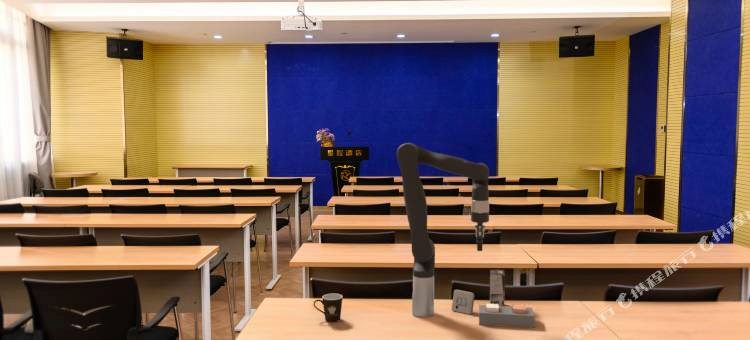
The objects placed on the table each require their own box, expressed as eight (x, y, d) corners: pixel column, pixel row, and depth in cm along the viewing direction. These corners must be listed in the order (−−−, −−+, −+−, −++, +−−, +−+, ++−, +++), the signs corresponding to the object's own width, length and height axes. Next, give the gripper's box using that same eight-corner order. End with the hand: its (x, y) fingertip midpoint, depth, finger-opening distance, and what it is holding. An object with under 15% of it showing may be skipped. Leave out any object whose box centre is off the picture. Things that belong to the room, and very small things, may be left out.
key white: (486, 319, 235) (486, 307, 235) (486, 314, 240) (486, 303, 240) (498, 319, 234) (498, 308, 234) (498, 315, 239) (498, 304, 239)
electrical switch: (451, 310, 250) (452, 290, 250) (456, 308, 255) (457, 288, 254) (470, 315, 245) (471, 294, 245) (475, 313, 249) (476, 292, 249)
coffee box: (504, 310, 250) (505, 275, 248) (489, 309, 251) (490, 274, 250) (504, 303, 259) (504, 269, 257) (489, 303, 260) (490, 268, 259)
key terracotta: (513, 320, 233) (513, 308, 233) (512, 316, 238) (512, 304, 238) (525, 321, 232) (526, 309, 232) (524, 317, 237) (525, 305, 237)
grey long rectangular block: (479, 324, 234) (479, 312, 233) (479, 316, 243) (479, 304, 243) (533, 327, 230) (534, 315, 229) (531, 319, 239) (531, 307, 239)
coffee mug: (346, 317, 243) (346, 295, 242) (336, 324, 235) (336, 301, 234) (322, 313, 248) (322, 291, 247) (312, 320, 240) (312, 297, 239)
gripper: (471, 207, 246) (471, 246, 247) (470, 212, 233) (470, 254, 234) (488, 208, 244) (488, 247, 246) (489, 213, 231) (488, 254, 233)
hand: (479, 250), depth 240 cm, fingers closed
